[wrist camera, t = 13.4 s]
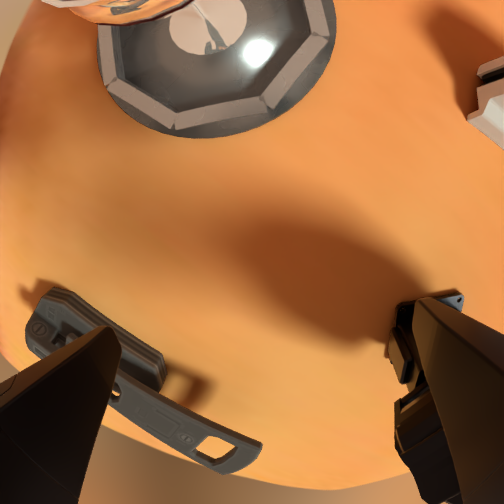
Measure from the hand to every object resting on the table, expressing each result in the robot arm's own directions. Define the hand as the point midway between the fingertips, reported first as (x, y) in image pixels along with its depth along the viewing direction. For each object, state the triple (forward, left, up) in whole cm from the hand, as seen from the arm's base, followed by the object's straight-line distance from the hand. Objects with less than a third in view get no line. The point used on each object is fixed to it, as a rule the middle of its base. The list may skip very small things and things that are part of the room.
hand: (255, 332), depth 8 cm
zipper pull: (+15, +14, -13) cm, 24 cm away
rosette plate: (+2, -13, -13) cm, 18 cm away
